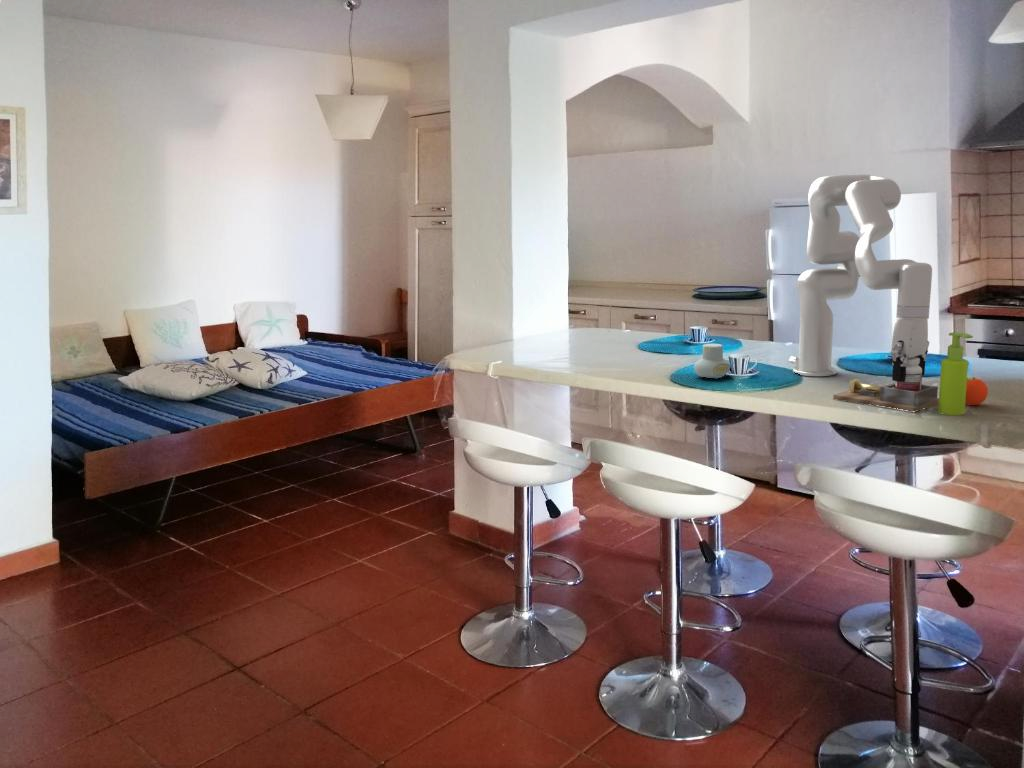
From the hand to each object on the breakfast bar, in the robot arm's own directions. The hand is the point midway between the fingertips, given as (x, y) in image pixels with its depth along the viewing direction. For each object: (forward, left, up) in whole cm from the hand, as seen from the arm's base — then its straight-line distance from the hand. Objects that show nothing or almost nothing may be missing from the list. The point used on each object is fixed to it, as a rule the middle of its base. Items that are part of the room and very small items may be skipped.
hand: (908, 378), depth 231 cm
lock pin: (-11, 0, -5) cm, 12 cm away
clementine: (+11, +10, -7) cm, 17 cm away
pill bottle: (0, 0, -6) cm, 6 cm away
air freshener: (-59, -5, -7) cm, 59 cm away
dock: (-6, 0, -7) cm, 9 cm away
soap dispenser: (+12, -1, -7) cm, 14 cm away
